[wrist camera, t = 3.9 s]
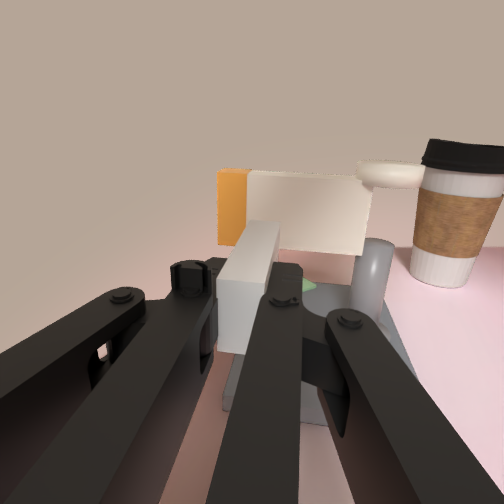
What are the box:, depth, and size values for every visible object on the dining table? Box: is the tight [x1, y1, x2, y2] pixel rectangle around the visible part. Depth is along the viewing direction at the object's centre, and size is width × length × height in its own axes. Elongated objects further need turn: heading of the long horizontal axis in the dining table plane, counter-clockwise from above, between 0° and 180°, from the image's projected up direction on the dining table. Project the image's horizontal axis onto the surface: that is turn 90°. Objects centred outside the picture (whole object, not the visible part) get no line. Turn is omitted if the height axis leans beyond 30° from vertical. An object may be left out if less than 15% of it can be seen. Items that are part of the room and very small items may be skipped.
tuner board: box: [223, 277, 419, 426], centre depth 27 cm, size 12×18×2 cm
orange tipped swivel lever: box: [217, 160, 425, 326], centre depth 24 cm, size 13×4×12 cm, turn 81°
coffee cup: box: [409, 139, 504, 288], centre depth 36 cm, size 8×8×15 cm
